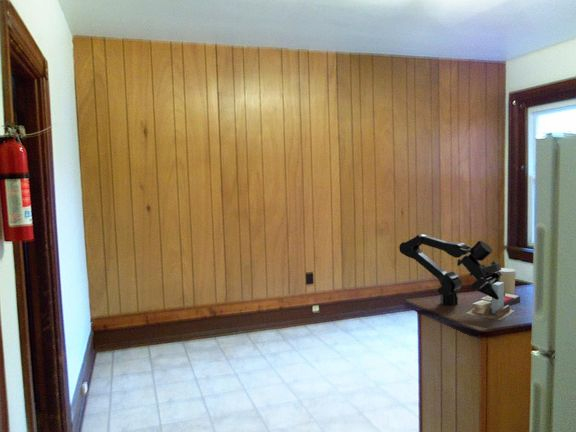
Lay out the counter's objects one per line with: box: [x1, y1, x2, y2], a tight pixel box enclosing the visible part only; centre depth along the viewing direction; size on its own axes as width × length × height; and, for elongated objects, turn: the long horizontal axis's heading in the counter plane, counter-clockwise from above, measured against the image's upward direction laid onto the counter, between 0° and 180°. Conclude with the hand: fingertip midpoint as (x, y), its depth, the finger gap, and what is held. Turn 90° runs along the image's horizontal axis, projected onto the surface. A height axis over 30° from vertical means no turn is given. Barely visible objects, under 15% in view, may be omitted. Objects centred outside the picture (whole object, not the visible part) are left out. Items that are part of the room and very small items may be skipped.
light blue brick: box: [492, 282, 504, 314], centre depth 188 cm, size 2×6×12 cm, turn 134°
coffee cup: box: [499, 267, 517, 295], centre depth 220 cm, size 9×9×12 cm
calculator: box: [478, 293, 521, 307], centre depth 205 cm, size 11×4×15 cm
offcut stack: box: [471, 300, 492, 314], centre depth 193 cm, size 5×9×3 cm, turn 134°
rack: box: [466, 305, 516, 321], centre depth 191 cm, size 14×16×4 cm
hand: (501, 297), depth 187 cm, fingers closed on light blue brick, 6 cm apart
